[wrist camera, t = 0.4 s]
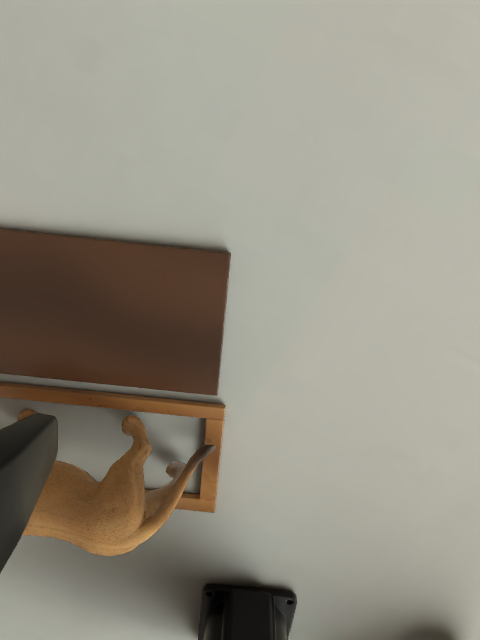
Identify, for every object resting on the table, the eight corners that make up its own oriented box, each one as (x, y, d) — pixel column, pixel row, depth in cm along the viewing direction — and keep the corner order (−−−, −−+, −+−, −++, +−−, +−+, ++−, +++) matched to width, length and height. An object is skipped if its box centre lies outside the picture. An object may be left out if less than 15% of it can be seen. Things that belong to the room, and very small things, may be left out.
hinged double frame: (214, 508, 28) (214, 512, 27) (-39, 482, 27) (-43, 487, 27) (241, 253, 21) (241, 255, 21) (-91, 218, 21) (-97, 219, 21)
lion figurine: (-10, 478, 27) (-132, 627, 19) (-39, 407, 25) (-189, 541, 17) (221, 473, 26) (197, 633, 18) (211, 398, 24) (177, 539, 16)
